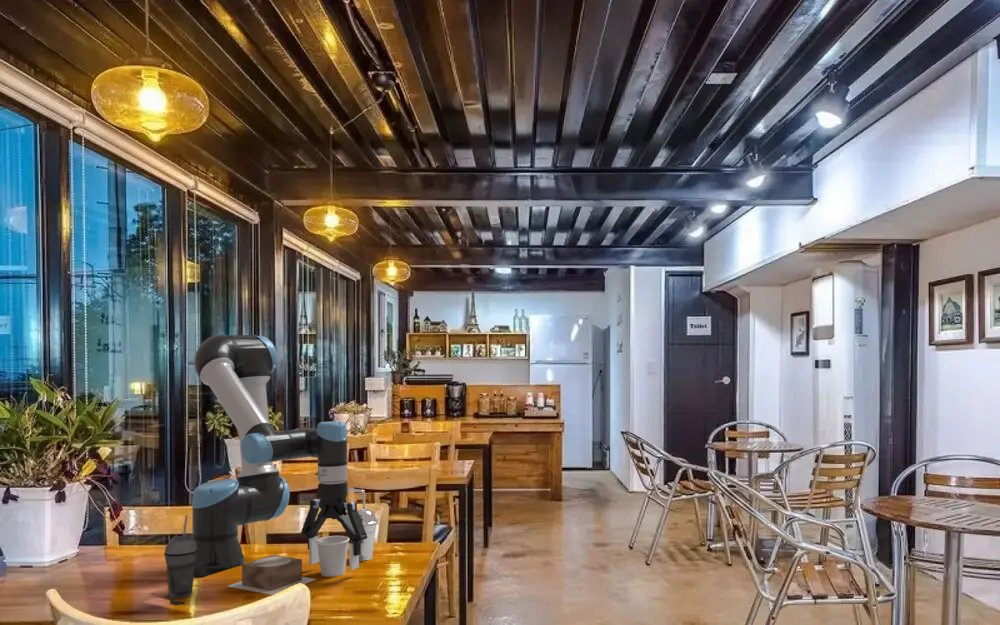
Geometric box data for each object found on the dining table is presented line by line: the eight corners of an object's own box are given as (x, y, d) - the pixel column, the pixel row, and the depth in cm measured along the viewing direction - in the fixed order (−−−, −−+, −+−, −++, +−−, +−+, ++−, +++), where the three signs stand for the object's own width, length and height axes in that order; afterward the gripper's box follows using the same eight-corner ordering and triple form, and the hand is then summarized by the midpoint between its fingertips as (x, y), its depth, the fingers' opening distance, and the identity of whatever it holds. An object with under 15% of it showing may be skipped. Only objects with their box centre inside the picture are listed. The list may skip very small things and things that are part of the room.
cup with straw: (370, 563, 204) (369, 490, 206) (341, 561, 207) (341, 489, 208) (384, 555, 212) (384, 485, 214) (356, 553, 215) (356, 484, 216)
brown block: (242, 585, 181) (242, 564, 181) (273, 574, 190) (273, 554, 190) (271, 590, 176) (271, 569, 176) (301, 579, 185) (301, 558, 185)
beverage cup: (170, 597, 177) (170, 512, 179) (201, 596, 178) (202, 511, 179) (158, 607, 170) (159, 519, 171) (191, 606, 171) (192, 518, 172)
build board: (226, 592, 181) (226, 586, 181) (270, 577, 193) (270, 571, 193) (274, 601, 173) (274, 595, 173) (316, 585, 185) (316, 579, 185)
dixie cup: (345, 583, 186) (345, 543, 187) (312, 584, 186) (312, 543, 187) (352, 574, 194) (352, 535, 195) (321, 574, 194) (320, 535, 195)
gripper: (286, 481, 195) (287, 564, 193) (360, 486, 182) (362, 574, 181) (307, 477, 201) (308, 557, 200) (380, 481, 189) (381, 567, 187)
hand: (333, 565), depth 190 cm, fingers open, 13 cm apart
